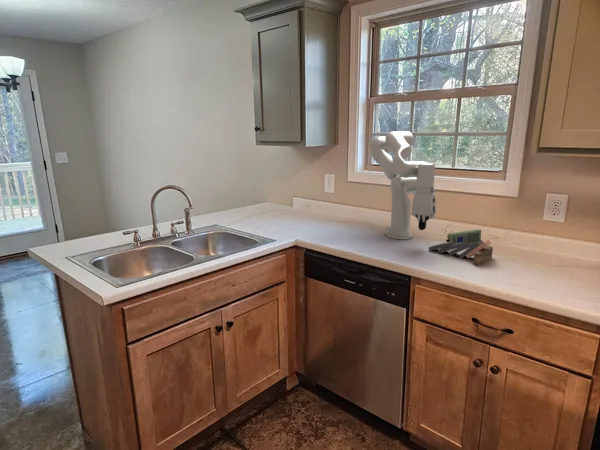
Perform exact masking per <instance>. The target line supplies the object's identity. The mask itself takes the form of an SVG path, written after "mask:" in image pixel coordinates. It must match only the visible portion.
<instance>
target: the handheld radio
mask: <svg viewBox="0 0 600 450" xmlns="http://www.w3.org/2000/svg"><path fill="white" fill-rule="evenodd" d="M446 235H447V236H446V238H447V239H446V240H445V241H446V242H450V241H454V244H457V243H460V242H464V244H465V245H466V244H468V243H471V242H474V244H475V243H477V242H479V241H481V240H482V230H481V229H473V230H472V229H471V230H464V231H457V232H451V233H450V232H449V233H446Z"/></svg>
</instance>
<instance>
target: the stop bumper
mask: <svg viewBox="0 0 600 450" xmlns="http://www.w3.org/2000/svg"><path fill="white" fill-rule="evenodd" d="M493 249H494V246H490V245H488V246H486V247H485V248H483V249H481V250H479V251H477V252H476V253H474V255H473V264H472V265H473V266H476V267H477V266H478V267H479V266H481V265H482V264H484V263H486V262H487V261H489V260H490V259H492V257H493Z"/></svg>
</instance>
